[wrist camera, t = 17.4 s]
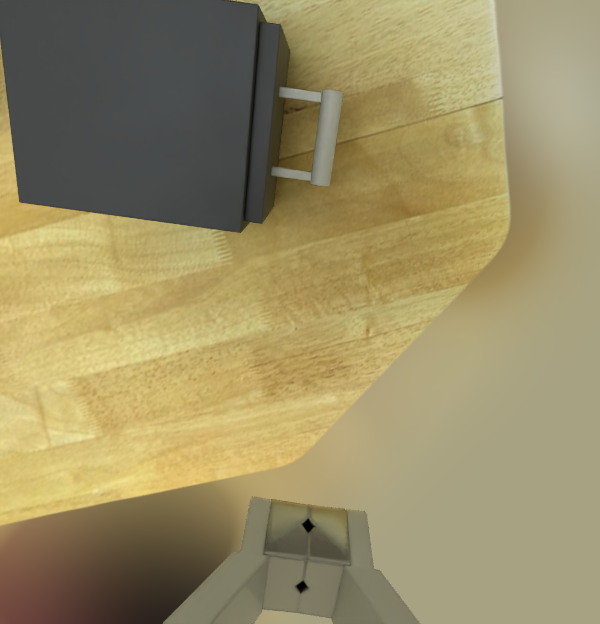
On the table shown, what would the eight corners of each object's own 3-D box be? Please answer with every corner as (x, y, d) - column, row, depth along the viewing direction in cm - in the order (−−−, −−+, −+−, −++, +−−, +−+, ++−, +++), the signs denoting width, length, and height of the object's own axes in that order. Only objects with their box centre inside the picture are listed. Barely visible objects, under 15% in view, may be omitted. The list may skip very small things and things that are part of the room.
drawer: (346, 58, 32) (354, 34, 24) (323, 213, 36) (324, 232, 29) (107, 24, 32) (44, -10, 24) (113, 184, 36) (61, 196, 29)
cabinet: (275, 41, 32) (258, 4, 23) (260, 210, 37) (241, 233, 28) (82, 13, 32) (-9, -34, 23) (91, 186, 37) (18, 202, 28)
